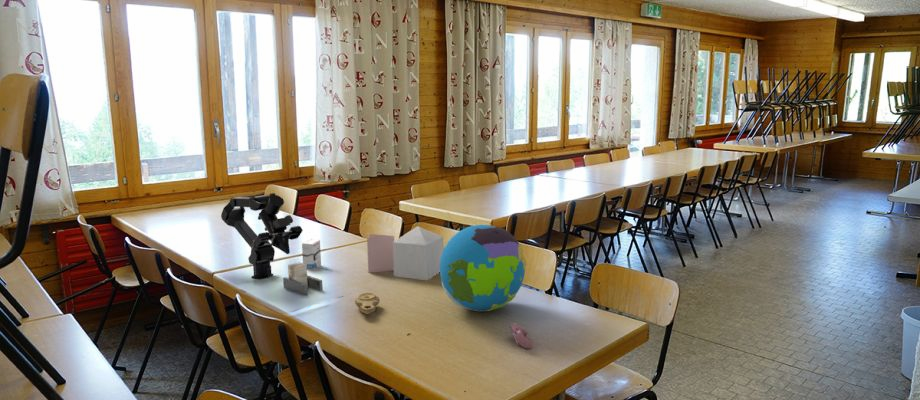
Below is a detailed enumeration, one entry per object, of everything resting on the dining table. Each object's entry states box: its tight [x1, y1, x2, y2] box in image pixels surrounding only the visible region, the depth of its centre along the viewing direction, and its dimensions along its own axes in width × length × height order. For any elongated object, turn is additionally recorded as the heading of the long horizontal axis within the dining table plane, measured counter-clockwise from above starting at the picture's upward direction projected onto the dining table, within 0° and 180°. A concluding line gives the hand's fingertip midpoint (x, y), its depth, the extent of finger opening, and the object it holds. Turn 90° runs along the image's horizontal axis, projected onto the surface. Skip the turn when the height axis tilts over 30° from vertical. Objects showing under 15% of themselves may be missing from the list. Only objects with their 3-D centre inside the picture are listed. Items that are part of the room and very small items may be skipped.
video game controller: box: [509, 322, 534, 350], centre depth 186 cm, size 10×5×7 cm, turn 5°
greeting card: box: [366, 233, 395, 273], centre depth 260 cm, size 11×7×15 cm, turn 71°
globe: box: [439, 224, 527, 312], centre depth 212 cm, size 30×30×30 cm
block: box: [287, 261, 309, 288], centre depth 236 cm, size 5×5×9 cm
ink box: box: [301, 238, 322, 269], centre depth 265 cm, size 8×5×12 cm, turn 168°
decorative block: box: [393, 226, 444, 281], centre depth 256 cm, size 16×16×20 cm
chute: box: [282, 274, 323, 296], centre depth 235 cm, size 14×8×5 cm, turn 49°
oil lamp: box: [354, 292, 380, 315], centre depth 214 cm, size 11×14×5 cm
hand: (288, 253), depth 238 cm, fingers closed
